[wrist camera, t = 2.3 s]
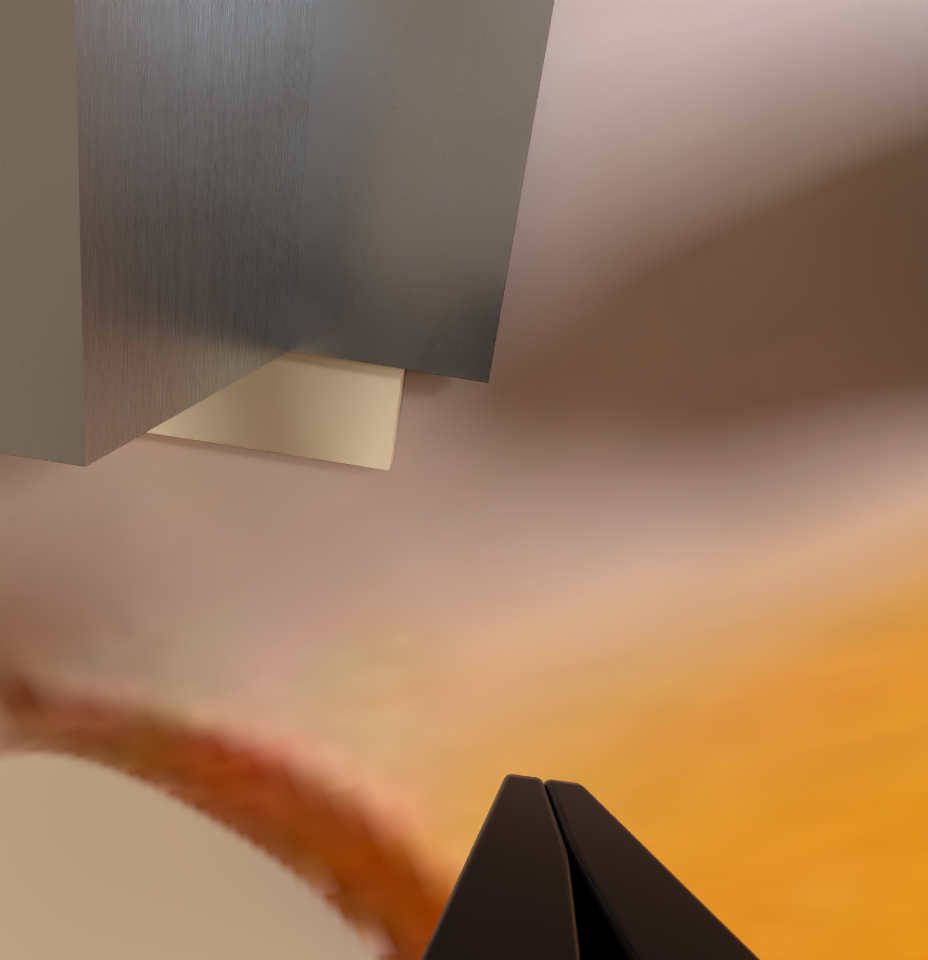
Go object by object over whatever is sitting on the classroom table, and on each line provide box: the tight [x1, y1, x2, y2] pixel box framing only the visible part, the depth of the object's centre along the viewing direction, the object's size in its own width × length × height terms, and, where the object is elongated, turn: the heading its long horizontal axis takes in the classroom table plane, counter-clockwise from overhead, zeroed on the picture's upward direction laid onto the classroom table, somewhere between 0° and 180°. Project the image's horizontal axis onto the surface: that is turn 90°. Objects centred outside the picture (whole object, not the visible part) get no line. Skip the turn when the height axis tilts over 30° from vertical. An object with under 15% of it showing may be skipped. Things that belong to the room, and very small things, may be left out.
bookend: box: [0, 0, 554, 467], centre depth 11 cm, size 8×9×10 cm
